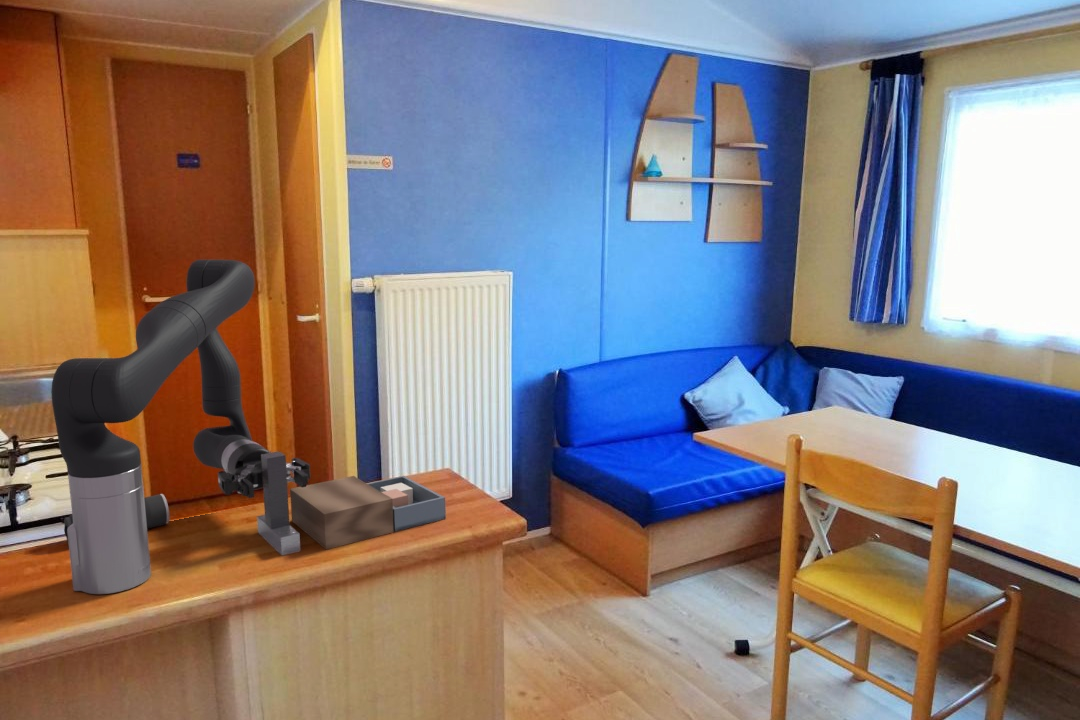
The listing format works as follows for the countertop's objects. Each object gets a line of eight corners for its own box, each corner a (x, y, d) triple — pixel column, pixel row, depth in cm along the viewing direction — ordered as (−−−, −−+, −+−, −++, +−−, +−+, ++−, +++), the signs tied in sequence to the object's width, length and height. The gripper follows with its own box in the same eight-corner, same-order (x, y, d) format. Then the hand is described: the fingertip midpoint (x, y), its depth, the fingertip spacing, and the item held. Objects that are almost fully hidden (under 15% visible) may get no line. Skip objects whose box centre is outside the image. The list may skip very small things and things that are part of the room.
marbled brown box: (326, 549, 123) (324, 514, 122) (291, 520, 135) (290, 488, 134) (393, 532, 130) (392, 498, 129) (354, 506, 143) (353, 475, 142)
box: (395, 531, 130) (394, 509, 130) (356, 506, 143) (355, 485, 142) (445, 518, 136) (445, 497, 136) (404, 495, 149) (403, 475, 148)
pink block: (392, 498, 132) (407, 495, 134) (381, 492, 135) (396, 488, 137) (393, 522, 133) (408, 518, 135) (382, 515, 136) (397, 511, 138)
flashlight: (69, 552, 123) (66, 520, 122) (63, 542, 127) (59, 511, 126) (170, 527, 133) (168, 498, 132) (161, 519, 137) (158, 490, 136)
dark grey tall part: (281, 555, 121) (276, 464, 118) (258, 533, 130) (252, 448, 128) (300, 551, 122) (295, 461, 120) (275, 529, 132) (270, 445, 130)
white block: (412, 488, 142) (413, 503, 142) (401, 482, 145) (401, 497, 146) (391, 493, 139) (392, 508, 140) (380, 487, 142) (381, 502, 143)
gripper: (205, 450, 131) (231, 472, 118) (286, 436, 140) (319, 456, 127) (208, 491, 132) (235, 518, 120) (289, 476, 141) (322, 499, 128)
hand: (278, 486), depth 123 cm, fingers open, 8 cm apart
